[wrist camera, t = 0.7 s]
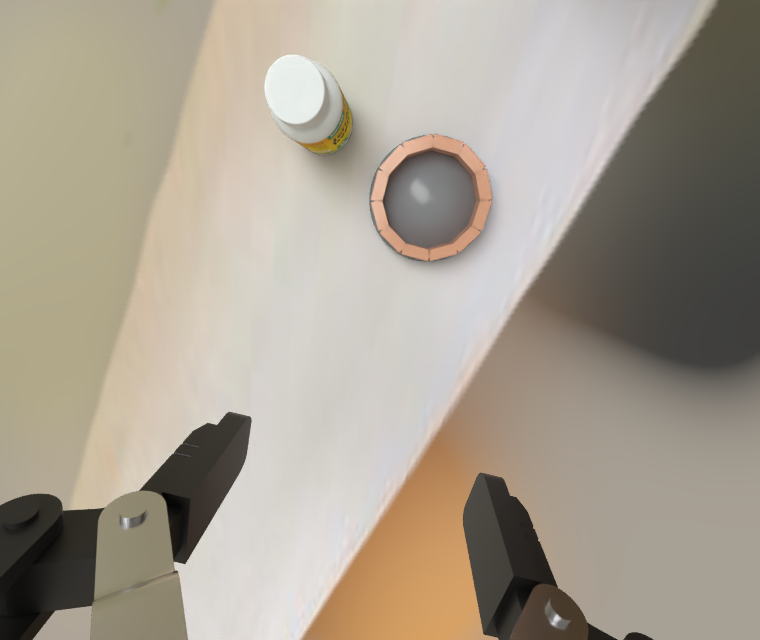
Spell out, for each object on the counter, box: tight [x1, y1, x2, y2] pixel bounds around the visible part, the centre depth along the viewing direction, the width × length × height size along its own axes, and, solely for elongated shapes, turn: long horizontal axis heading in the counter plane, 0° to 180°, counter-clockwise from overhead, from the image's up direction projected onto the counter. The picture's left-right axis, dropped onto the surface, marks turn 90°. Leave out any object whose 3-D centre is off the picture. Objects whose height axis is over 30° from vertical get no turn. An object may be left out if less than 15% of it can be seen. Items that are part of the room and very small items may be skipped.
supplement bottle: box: [264, 54, 352, 155], centre depth 28 cm, size 5×5×10 cm
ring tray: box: [370, 134, 492, 261], centre depth 32 cm, size 11×11×3 cm
